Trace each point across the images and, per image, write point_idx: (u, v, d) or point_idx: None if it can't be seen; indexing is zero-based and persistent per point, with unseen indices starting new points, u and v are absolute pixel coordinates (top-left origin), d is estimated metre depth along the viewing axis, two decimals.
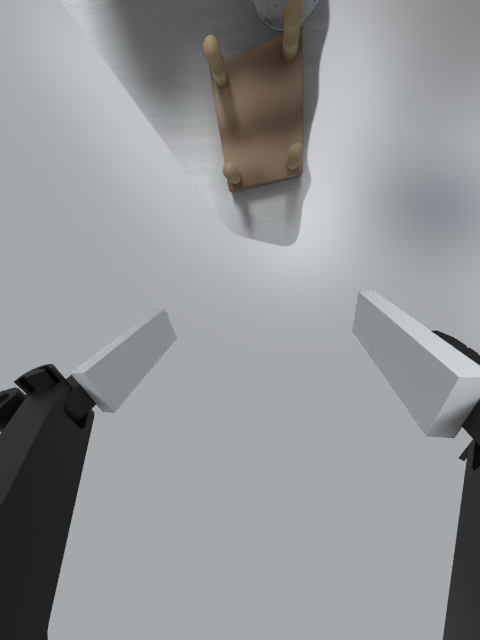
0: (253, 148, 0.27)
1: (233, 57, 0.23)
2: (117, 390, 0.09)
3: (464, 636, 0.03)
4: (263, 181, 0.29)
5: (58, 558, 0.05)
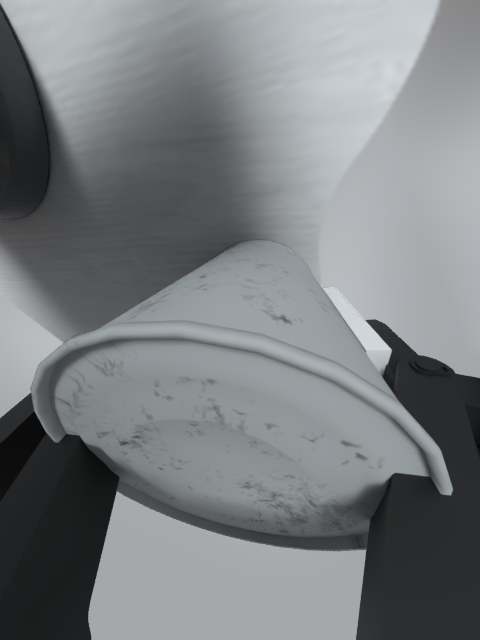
0: None
1: None
2: None
3: (372, 561, 0.03)
4: None
5: (101, 537, 0.05)
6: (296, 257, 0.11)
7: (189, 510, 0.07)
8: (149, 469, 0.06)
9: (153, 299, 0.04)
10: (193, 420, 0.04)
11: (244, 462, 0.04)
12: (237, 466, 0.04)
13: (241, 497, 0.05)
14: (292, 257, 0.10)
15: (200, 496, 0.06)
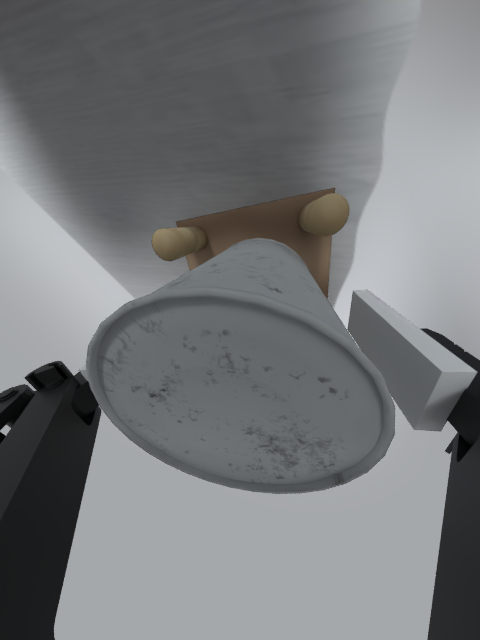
0: None
1: (214, 215, 0.14)
2: None
3: (448, 622, 0.03)
4: None
5: (65, 554, 0.05)
6: (293, 253, 0.13)
7: (200, 464, 0.08)
8: (170, 422, 0.07)
9: (178, 280, 0.05)
10: (210, 369, 0.05)
11: (247, 406, 0.05)
12: (243, 411, 0.06)
13: (244, 445, 0.07)
14: (289, 253, 0.11)
15: (210, 448, 0.07)
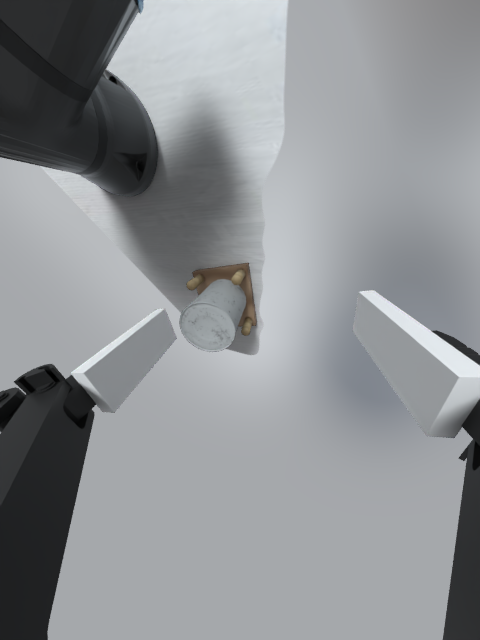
0: None
1: (207, 271, 0.37)
2: (117, 390, 0.09)
3: (465, 637, 0.03)
4: None
5: (58, 557, 0.05)
6: (234, 286, 0.36)
7: (202, 344, 0.31)
8: (195, 331, 0.30)
9: (198, 299, 0.28)
10: (204, 315, 0.28)
11: (211, 323, 0.29)
12: (210, 325, 0.29)
13: (212, 335, 0.30)
14: (230, 287, 0.34)
15: (204, 338, 0.30)
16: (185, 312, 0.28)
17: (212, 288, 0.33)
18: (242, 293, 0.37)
